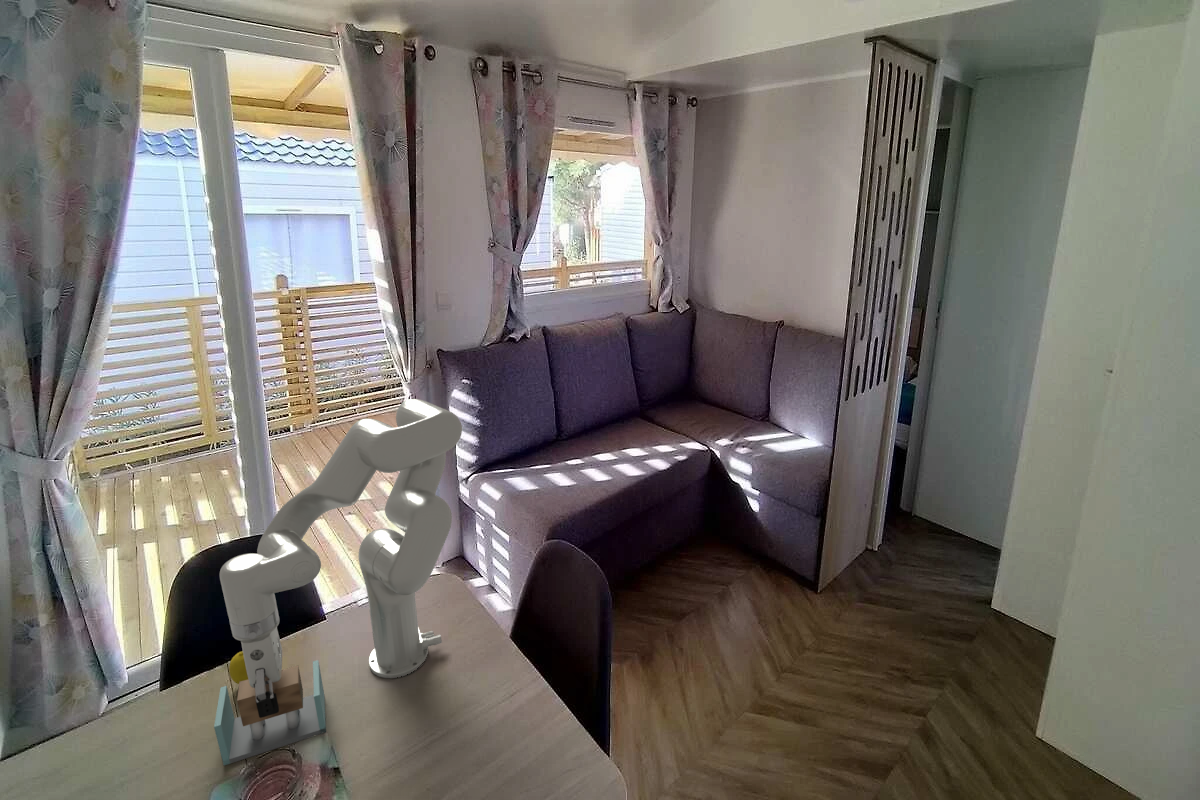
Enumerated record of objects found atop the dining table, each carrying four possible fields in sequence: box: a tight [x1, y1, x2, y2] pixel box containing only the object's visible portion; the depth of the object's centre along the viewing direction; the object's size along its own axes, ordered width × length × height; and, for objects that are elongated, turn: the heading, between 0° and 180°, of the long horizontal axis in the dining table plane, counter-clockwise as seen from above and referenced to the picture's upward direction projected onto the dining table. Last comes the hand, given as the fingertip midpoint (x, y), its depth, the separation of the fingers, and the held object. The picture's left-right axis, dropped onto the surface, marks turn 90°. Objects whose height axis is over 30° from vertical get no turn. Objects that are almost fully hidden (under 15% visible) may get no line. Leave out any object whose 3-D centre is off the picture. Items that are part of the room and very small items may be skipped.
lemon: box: [228, 650, 248, 685], centre depth 125 cm, size 6×6×8 cm
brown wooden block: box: [236, 665, 304, 726], centre depth 113 cm, size 10×5×6 cm, turn 116°
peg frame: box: [213, 659, 327, 766], centre depth 114 cm, size 17×10×9 cm, turn 116°
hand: (270, 695), depth 113 cm, fingers open, 9 cm apart
